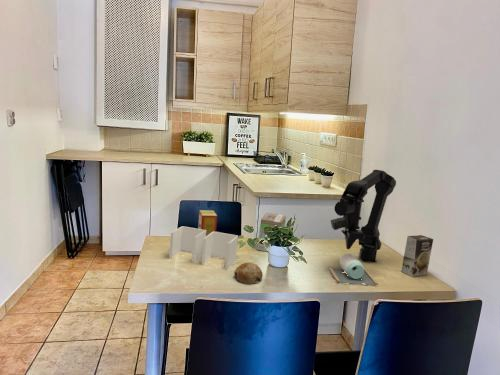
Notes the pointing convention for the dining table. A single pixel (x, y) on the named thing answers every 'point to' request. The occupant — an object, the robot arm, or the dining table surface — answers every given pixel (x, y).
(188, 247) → the zigzag folding screen
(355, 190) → the robot arm
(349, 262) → the can
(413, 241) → the coffee box
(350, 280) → the mat
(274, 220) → the tea box
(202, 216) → the baking soda box
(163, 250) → the dining table surface
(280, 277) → the dining table surface
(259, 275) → the bread roll
